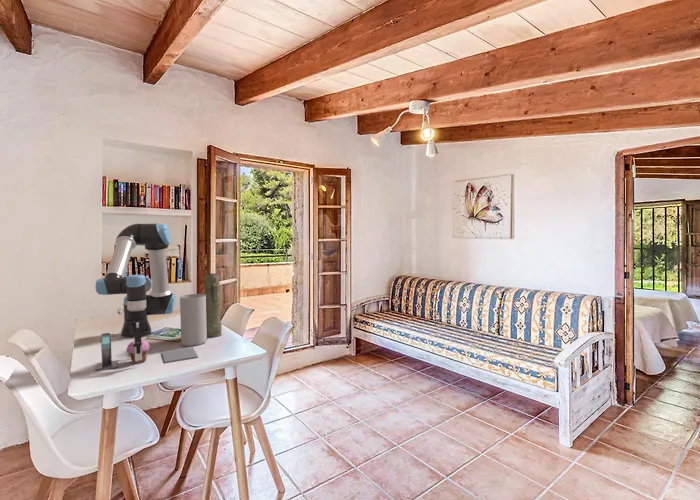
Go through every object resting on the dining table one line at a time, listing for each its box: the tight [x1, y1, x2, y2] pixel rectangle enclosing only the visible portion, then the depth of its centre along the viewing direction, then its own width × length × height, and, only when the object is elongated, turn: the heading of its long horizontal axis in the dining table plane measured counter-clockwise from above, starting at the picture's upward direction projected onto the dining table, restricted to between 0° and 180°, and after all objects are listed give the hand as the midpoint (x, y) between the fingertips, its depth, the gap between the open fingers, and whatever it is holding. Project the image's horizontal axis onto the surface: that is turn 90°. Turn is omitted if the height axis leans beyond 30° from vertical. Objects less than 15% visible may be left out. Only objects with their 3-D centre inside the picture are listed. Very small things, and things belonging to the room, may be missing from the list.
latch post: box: [94, 337, 119, 372], centre depth 163 cm, size 8×8×12 cm
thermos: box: [204, 272, 223, 338], centre depth 211 cm, size 9×12×35 cm
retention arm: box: [101, 332, 111, 349], centre depth 156 cm, size 3×19×2 cm, turn 33°
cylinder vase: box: [179, 293, 208, 347], centre depth 197 cm, size 12×12×25 cm
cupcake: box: [126, 339, 150, 364], centre depth 169 cm, size 9×9×10 cm
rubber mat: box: [161, 346, 199, 364], centre depth 178 cm, size 16×14×1 cm
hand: (138, 356), depth 169 cm, fingers open, 13 cm apart
